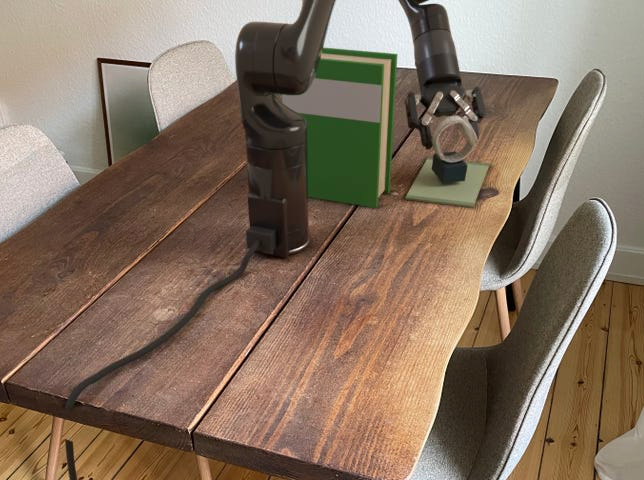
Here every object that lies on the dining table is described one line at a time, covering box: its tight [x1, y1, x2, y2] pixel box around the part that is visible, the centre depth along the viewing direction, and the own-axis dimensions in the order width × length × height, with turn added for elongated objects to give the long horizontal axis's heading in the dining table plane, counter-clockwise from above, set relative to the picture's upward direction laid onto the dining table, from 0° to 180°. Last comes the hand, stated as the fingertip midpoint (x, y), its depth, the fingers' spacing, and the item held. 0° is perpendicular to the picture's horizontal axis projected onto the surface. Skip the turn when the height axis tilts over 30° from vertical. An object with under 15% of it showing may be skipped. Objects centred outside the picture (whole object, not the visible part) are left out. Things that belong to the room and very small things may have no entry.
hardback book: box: [281, 47, 398, 209], centre depth 131 cm, size 18×7×24 cm, turn 65°
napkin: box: [404, 157, 490, 208], centre depth 140 cm, size 20×12×1 cm, turn 160°
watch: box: [431, 115, 478, 184], centre depth 136 cm, size 6×8×11 cm
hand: (451, 145), depth 137 cm, fingers closed on watch, 8 cm apart
